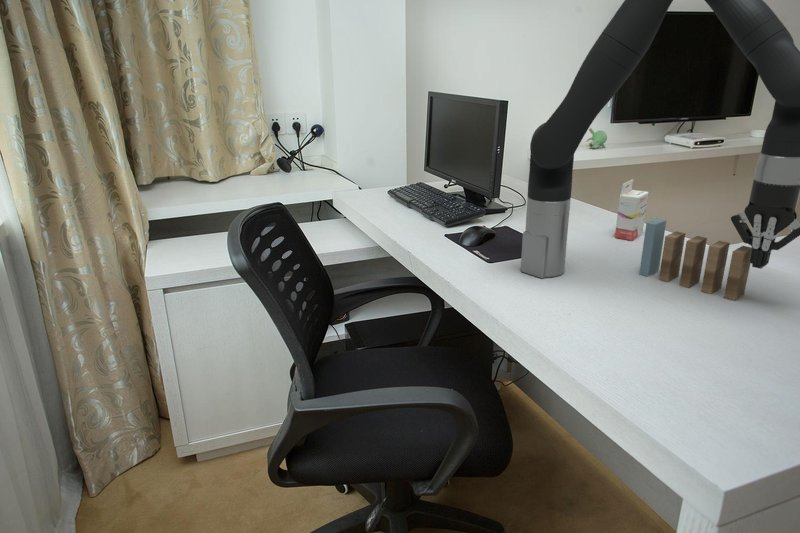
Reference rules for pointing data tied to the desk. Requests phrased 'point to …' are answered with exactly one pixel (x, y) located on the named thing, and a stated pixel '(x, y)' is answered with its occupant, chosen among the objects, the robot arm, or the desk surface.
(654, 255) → the end tile
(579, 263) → the desk surface
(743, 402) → the desk surface
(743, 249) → the tile
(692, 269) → the tile
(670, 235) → the tile
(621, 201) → the ink cartridge box
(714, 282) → the tile
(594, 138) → the frog
